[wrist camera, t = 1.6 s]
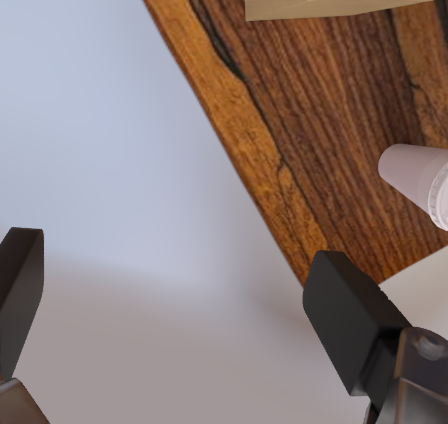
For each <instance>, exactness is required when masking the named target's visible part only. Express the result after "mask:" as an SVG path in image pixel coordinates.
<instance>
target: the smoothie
mask: <svg viewBox="0 0 448 424" xmlns="http://www.w3.org/2000/svg"><path fill="white" fill-rule="evenodd" d="M378 171H379V174H380V176H381V177H382V178H383V179H384V180H385V181H387V182H388V183H389V184H390V185H392V186H393V187H394V188H396V189H397V190H398V191H400V192H401V193H402V194H403V195H405V196H406V197H407V198H409V199H410V200H411V201H413V202H414V203H415V204H416V205H418V206H419V207H420V208H422V209H423V210H424V211H425V212H427V213H428V214H429V215H430V217H431V219H432V221H433V222H434V223H435V224H436V225H437V226H438V227H440V228H442V229H444V230H446V231H448V149H441V148H433V147H424V146H416V145H408V144H394V145H392V146H390V147H389V148H387V149H386V150H385V151H384V152H383V154H382V155H381V157H380V159H379V163H378Z"/></svg>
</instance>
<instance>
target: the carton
mask: <svg viewBox="0 0 448 424" xmlns="http://www.w3.org/2000/svg"><path fill="white" fill-rule="evenodd" d="M426 1H431V0H245V19H246V21H254V20H273V19H291V18H310V17H329V16H348V15H356V14H361V13H367V12H372V11H378V10H383V9H388V8H394V7H399V6H405V5H410V4H415V3H421V2H426Z"/></svg>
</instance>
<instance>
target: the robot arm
mask: <svg viewBox="0 0 448 424" xmlns="http://www.w3.org/2000/svg"><path fill="white" fill-rule="evenodd" d="M43 285H44V234H43V230H42V229H32V228H18V227H12V228H11V229H10V230H9V232H8V233H7V235H6V236H5V238H4V239H3V241H2V242H1V244H0V424H50V423H49V421H48V420H47V418H46V417H45V415H44V414H43V413H42V411H41V410H40V408H39V407H38V405H37V404H36V402H35V401H34V399H33V398H32V397H31V395H30V394H29V392H28V391H27V389H26V388H25V386H24V385H23V384H22V382H20V380H18V379H17V378H12V375H13V372H14V370H15V367H16V364H17V362H18V359H19V356H20V354H21V351H22V348H23V346H24V343H25V340H26V338H27V335H28V332H29V330H30V327H31V324H32V322H33V319H34V316H35V313H36V311H37V308H38V306H39V303H40V300H41V297H42V292H43ZM303 307H304V310H305V313H306V315H307V316H308V318H309V320H310V322H311V324H312V326H313V328H314V330H315V331H316V333H317V335H318V337H319V339H320V341H321V343H322V345H323V346H324V348H325V350H326V352H327V354H328V356H329V358H330V360H331V361H332V363H333V365H334V367H335V369H336V371H337V373H338V375H339V376H340V378H341V380H342V382H343V384H344V386H345V388H346V390H347V392H348V393H349V395H350V396H369V398H370V403H369V405H368V407H367V410H366V414H365V418H364V422H363V424H448V341H447V340H446V339H445V338H443V337H441V336H440V335H438V334H436V333H434V332H432V331H430V330H427V329H424V328H420V327H413V326H412V325H411V324H410V323H409V322H408V320H407V319H406V318H405V317H404V316H403V314H402V313H401V312H400V311H399V310H398V309H397V307H396V306H395V305H394V304H393V303H392V302H391V300H388V297H387V296H386V294H385V293H384V292H383V291H381V290H380V287H379V286H378V285H377V284H376V283H375V282H374V280H373V279H372V278H371V277H369V276H368V275H367V274H365V273H364V272H362V271H361V270H359V269H358V268H356V267H355V265H354V264H353V263H352V262H351V261H350V259H349V258H348V257H347V256H346V255H345V253H343V252H339V251H325V250H319V251H317V252H316V254H315V256H314V258H313V262H312V265H311V268H310V271H309V275H308V278H307V281H306V284H305V287H304V291H303ZM11 378H12V379H11Z"/></svg>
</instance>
